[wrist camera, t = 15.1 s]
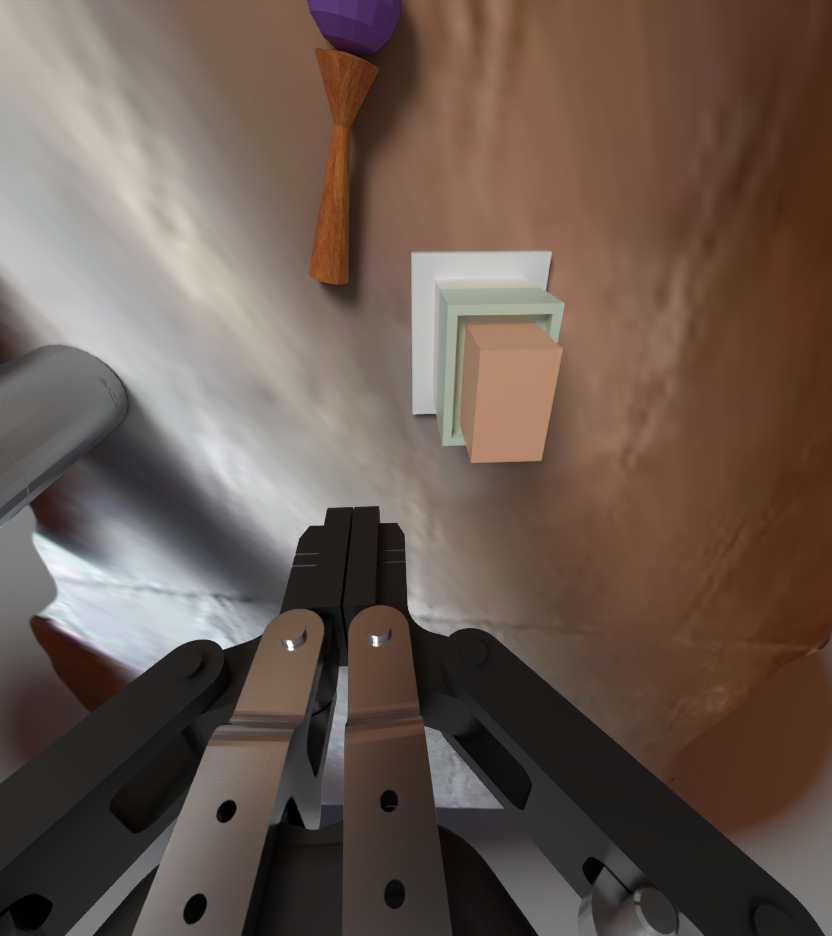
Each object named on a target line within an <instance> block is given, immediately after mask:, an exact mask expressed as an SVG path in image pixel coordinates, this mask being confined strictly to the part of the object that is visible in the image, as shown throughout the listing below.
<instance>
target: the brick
mask: <svg viewBox="0 0 832 936" xmlns="http://www.w3.org/2000/svg"><path fill="white" fill-rule="evenodd" d="M562 352H563V348H562V347H561V346H560V345H559V344H558V343H557V342H556V341H554V340H553V339H552V338H551V337H550V336H549V335H548V334H547V333H546V332H545V331H544V330H543V329H541V328H540V327H539V326H538V325H537V324H536V323H535V322H515V323H465V339H464V355H463V371H462V387H461V403H460V420H459V424H460V427H461V431H462V434H463V438H464V441H465V444H466V448H467V451H468V454H469V458H470V461H471V463H484V462H518V461H541V460H542V455H543V450H544V445H545V440H546V435H547V429H548V424H549V419H550V414H551V409H552V403H553V398H554V393H555V388H556V383H557V378H558V372H559V367H560V362H561V357H562Z"/></svg>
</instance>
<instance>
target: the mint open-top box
mask: <svg viewBox="0 0 832 936" xmlns="http://www.w3.org/2000/svg"><path fill="white" fill-rule="evenodd" d="M551 254H552V252H550V251H448V252H411V302H412V412H413V414H436V416H437V421H438V426H439V431H440V436H441V441H442V446H457V445H466V444H465V441H464V438H463V434H462V431H461V427H460V424H459V420H460V403H461V387H462V371H463V355H464V339H465V323H515V322H535V323H536V324H537V325H538V326H539V327H540V328H541V329H543V330H544V331H545V332H546V333H547V334H548V335H549V336H550V337H551V338H552V339H553V340H554V341H556V342H557V343H558V337H559V332H560V327H561V321H562V316H563V310H564V305H565V303H564V302H562V301H560V300H559V299H557V298H556V297H554V296H553V295H551V294H550V293H548V292H547V291H546V286H547V280H548V274H549V267H550V261H551Z"/></svg>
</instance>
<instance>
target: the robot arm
mask: <svg viewBox="0 0 832 936" xmlns="http://www.w3.org/2000/svg"><path fill="white" fill-rule="evenodd" d="M127 410H128V399H127V396H126V392H125V390H124V388H123V386H122V384H121V382H120V380H119V379H118V378H117V377H116V375H115V374H114V373H113V372H112V371H111V370H110V369H109V368H108V367H107V366H106V365H105V364H104V363H103V362H101V361H100V360H98V359H97V358H95V357H94V356H92V355H90V354H88V353H86V352H84V351H82V350H79V349H76V348H73V347H69V346H63V345H48V346H44V347H40V348H37V349H35V350H33V351H31V352H29V353H26V354H24V355H22V356H20V357H18V358H15V359H13V360H11V361H8V362H6V363H4V364H2V365H0V528H1V527H3V526H4V525H5V524H6V523H7V522H8V521H9V520H11V519H12V518H13V517H14V516H15V515H16V514H18V513H19V512H20V511H21V510H22V509H23V508H24V507H25V506H26V505H28V504H29V503H30V502H31V501H32V500H33V499H34V498H36V497H37V496H38V495H39V494H40V493H41V492H43V491H44V490H45V489H46V488H47V487H48V486H49V485H51V484H52V483H53V482H54V481H55V480H56V479H57V478H59V477H60V476H61V475H62V474H63V473H64V472H66V471H67V470H68V469H69V468H70V467H71V466H72V465H74V464H75V463H76V462H77V461H78V460H79V459H80V458H82V457H83V456H84V455H85V454H86V453H87V452H88V451H90V450H91V449H92V448H93V447H94V446H95V445H97V444H98V443H99V442H100V441H101V440H102V439H103V438H105V437H106V436H107V435H108V434H109V433H110V432H111V431H113V430H114V429H115V428H116V427H117V426H118V425H119V424H120V423H122V421H123V420H124V418H125V416H126V414H127ZM339 666H348V719H347V723H346V726H345V743H344V820H341V821H339V822H336V823H334V824H331V825H329V826H326V827H323V828H321V829H319V822H320V813H321V786H322V778H323V772H324V766H325V761H326V755H327V749H328V744H329V738H330V733H331V727H332V721H333V716H334V710H335V705H336V699H337V691H336V688H337V681H338V672H339ZM424 726H427V727H430V728H433V729H436V730H439V731H441V733H442V735H443V737H444V738H445V739H446V741H447V742H448V743H449V744H450V745H451V746H452V748H453V749H454V750H455V751H456V752H457V753H458V755H459V756H460V757H461V758H462V759H463V760H464V762H465V763H466V764H467V765H468V766H469V767H470V769H471V770H472V771H473V772H474V773H475V774H476V776H477V777H478V778H479V779H480V780H481V782H482V783H483V784H484V785H485V786H486V787H487V789H488V790H489V791H490V792H491V793H492V794H493V796H494V797H495V798H496V799H497V800H498V801H499V803H500V804H501V805H502V806H503V807H504V808H505V810H506V811H507V812H508V813H509V814H510V815H511V817H512V818H513V819H514V820H515V821H516V822H517V823H518V825H519V826H520V827H521V828H522V830H523V831H524V832H525V833H526V834H527V835H528V837H529V838H530V839H531V840H532V841H533V842H534V843H535V845H536V846H537V847H538V848H539V849H540V851H541V852H542V853H543V854H544V855H545V856H546V858H547V859H548V860H549V861H550V862H551V863H552V865H553V866H554V867H555V868H556V869H557V870H558V872H559V873H560V874H561V875H562V876H563V877H564V879H565V880H566V881H567V882H568V883H569V885H570V886H571V887H572V888H573V889H574V890H575V892H576V893H577V894H578V895H579V896H580V897H581V899H582V900H581V902H580V906H579V911H578V932H579V936H825V935H824V933H823V932H822V930H821V929H820V927H819V926H818V924H817V923H816V921H815V920H814V919H813V917H812V916H811V915H810V913H809V912H808V911H807V909H806V908H805V907H804V906H803V905H802V904H801V903H800V902H799V901H798V900H797V899H796V898H795V897H794V896H793V895H792V894H791V893H790V892H789V891H788V890H787V889H785V888H784V887H783V886H782V885H781V884H780V883H778V882H777V881H776V880H775V879H774V878H773V877H772V876H770V875H769V874H768V873H767V872H766V871H764V870H763V869H762V868H761V867H760V866H759V865H758V864H756V863H755V862H754V861H753V860H752V859H751V858H750V857H748V856H747V855H746V854H745V853H744V852H743V851H741V850H740V849H739V848H738V847H737V846H736V845H734V844H733V843H732V842H731V841H730V840H729V839H728V838H726V837H725V836H724V835H723V834H722V833H721V832H719V831H718V830H717V829H716V828H715V827H713V826H712V825H711V824H710V823H709V822H708V821H707V820H705V819H704V818H703V817H702V816H701V815H700V814H699V813H697V812H696V811H695V810H694V809H693V808H691V807H690V806H689V805H688V804H687V803H686V802H684V801H683V800H682V799H681V798H680V797H679V796H677V794H675V793H674V792H673V791H672V790H671V789H669V788H668V787H667V786H666V785H665V784H664V783H663V782H661V781H660V780H659V779H658V778H657V777H656V776H655V775H653V774H652V773H651V772H650V771H649V770H648V769H646V768H645V767H644V766H643V765H642V764H641V763H639V762H638V761H637V760H636V759H635V758H634V757H632V756H631V755H630V754H629V753H628V752H627V751H626V750H624V749H623V748H622V747H621V746H620V745H619V744H617V743H616V742H615V741H614V740H613V739H612V738H610V737H609V736H608V735H607V734H606V733H605V732H604V731H602V730H601V729H600V728H599V727H598V726H597V725H595V724H594V723H593V722H592V721H591V720H590V719H588V718H587V717H586V716H585V715H584V714H583V713H582V712H580V711H579V710H578V709H577V708H576V707H575V706H573V705H572V704H571V703H570V702H569V701H568V700H566V699H565V698H564V697H563V696H562V695H561V694H559V693H558V692H557V691H556V690H555V689H554V688H553V687H551V686H550V685H549V684H548V683H547V682H546V681H544V680H543V679H542V678H541V677H540V676H539V675H537V674H536V673H535V672H534V671H533V670H532V669H531V668H529V667H528V666H527V665H526V664H525V663H524V662H522V661H521V660H520V659H519V658H518V657H517V656H515V655H514V654H513V653H512V652H511V651H510V650H509V649H507V648H506V647H505V646H504V645H503V644H502V643H500V642H499V641H498V640H497V639H496V638H495V637H493V636H492V635H491V634H489V633H487V632H485V631H483V630H480V629H475V628H466V629H461V630H458V631H456V632H454V633H453V634H451V635H450V636H449V637H447V636H443V635H440V634H436V633H432V632H429V631H427V630H425V629H423V628H422V627H420V626H419V625H418V624H417V623H416V622H415V621H414V620H413V619H412V617H411V615H410V614H409V610H408V605H407V582H406V559H405V536H404V533H403V532H402V530H401V529H400V527H399V525H398V524H397V523H380V511H379V506H368V507H354V509H353V507H342V508H328V509H327V513H326V518H325V523H324V526H309V528H308V529H307V530H306V531H305V532H304V534H303V535H302V536H301V537H300V538H299V542H298V546H297V550H296V556H295V557H294V561H293V568H292V569H291V573H290V577H289V581H288V584H287V588H286V592H285V596H284V600H283V604H282V608H281V611H280V614H279V616H277V617H276V618H274V619H273V620H272V621H271V622H270V623H269V624H268V626H267V627H266V629H265V631H264V633H263V634H262V635H260V636H259V637H257V638H255V639H253V640H251V641H248V642H245V643H242V644H239V645H236V646H233V647H230V648H227V649H224V650H222V648H221V647H220V646H219V644H217V643H216V642H214V641H211V640H194V641H191V642H188V643H185V644H183V645H181V646H179V647H177V648H176V649H174V650H173V651H171V652H170V653H169V654H167V655H166V656H165V657H164V658H162V659H161V660H160V661H158V662H157V663H156V664H155V665H153V666H152V667H151V668H149V669H148V670H147V671H145V672H144V673H143V674H142V675H140V676H139V677H138V678H136V679H135V680H134V681H133V682H131V683H130V684H129V685H127V686H126V687H125V688H123V689H122V690H121V691H120V692H118V693H117V694H116V695H114V696H113V697H112V698H110V699H109V700H108V701H107V702H105V703H104V704H103V705H101V706H100V707H99V708H98V709H96V710H95V711H94V712H92V713H91V714H90V715H89V716H87V717H86V718H85V719H83V720H82V721H81V722H79V723H78V724H77V725H76V726H74V727H73V728H72V729H70V730H69V731H68V732H66V733H65V734H64V735H63V736H61V737H60V738H59V739H58V740H56V741H55V742H54V743H52V744H51V745H50V746H48V747H47V748H46V749H44V750H43V751H42V752H41V753H40V754H38V755H37V756H35V757H34V758H33V759H31V760H30V761H29V762H28V763H26V764H25V765H24V766H22V767H21V768H20V769H19V770H17V771H16V772H15V773H13V774H12V775H11V776H9V777H8V778H7V779H6V780H4V781H3V782H2V783H1V784H0V936H65V935H66V934H67V933H68V931H69V930H70V929H71V928H72V927H73V926H74V925H75V924H76V923H77V922H78V921H79V920H80V919H81V918H82V917H83V915H84V914H85V913H86V912H87V911H88V910H89V909H90V908H91V907H92V906H93V905H94V904H95V903H96V902H97V901H98V900H99V899H100V898H101V897H102V896H103V895H104V893H105V892H106V891H107V890H108V889H109V888H110V887H111V886H112V885H113V884H114V883H115V882H116V881H117V880H118V879H119V877H121V875H122V874H123V873H124V872H125V871H126V870H127V869H128V868H129V867H130V866H131V865H132V864H133V863H134V862H135V861H136V860H137V859H138V857H139V856H140V855H141V854H142V853H143V852H144V851H145V850H146V849H147V848H148V847H149V846H150V845H151V844H152V843H153V842H154V841H155V840H156V838H157V837H158V836H159V835H160V834H161V833H162V832H163V831H164V830H165V829H166V828H167V827H168V826H169V825H170V824H171V823H172V821H173V820H174V819H175V818H176V817H177V816H178V815H179V814H180V815H179V818H178V820H177V823H176V825H175V828H174V830H173V833H172V835H171V838H170V840H169V843H168V846H167V848H166V851H165V853H164V855H163V858H162V861H161V863H160V864H159V865H158V866H156V867H155V868H154V869H153V870H152V871H151V872H150V873H149V874H148V875H147V876H146V877H145V878H144V879H142V880H141V882H139V884H138V885H137V886H136V887H135V888H134V889H133V890H132V891H131V892H130V893H129V894H128V896H127V897H126V898H125V899H124V900H123V901H122V903H121V904H120V905H119V906H118V907H117V908H116V909H115V911H114V912H113V913H112V914H111V915H110V916H109V917H108V919H107V920H106V921H105V922H104V923H103V925H102V926H101V927H100V928H99V929H98V930H97V931H96V933H95V934H94V935H93V936H538V934H537V933H536V931H535V930H534V929H533V927H532V926H531V924H530V923H529V922H528V920H527V919H526V917H525V916H524V915H523V914H522V912H521V910H520V909H519V908H518V906H517V905H516V903H515V902H514V900H513V899H512V898H511V896H510V895H509V894H508V892H507V891H506V889H505V888H504V886H503V885H502V884H501V882H500V881H499V879H498V878H497V877H496V875H495V874H494V872H493V871H492V869H491V868H490V867H489V865H488V864H487V863H486V862H485V860H484V859H483V858H482V857H481V855H480V854H479V853H478V852H477V851H476V850H475V849H474V848H473V847H472V846H471V845H470V844H469V843H468V842H466V841H465V840H464V839H463V838H462V837H460V836H459V835H457V834H456V833H454V832H453V831H451V830H450V829H448V828H446V827H444V826H441V825H439V824H437V818H436V810H435V803H434V795H433V788H432V780H431V773H430V766H429V758H428V751H427V744H426V736H425V729H424Z"/></svg>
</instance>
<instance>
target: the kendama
mask: <svg viewBox="0 0 832 936" xmlns="http://www.w3.org/2000/svg"><path fill="white" fill-rule="evenodd" d="M307 1H308V5H309V10H310V13H311V15H312V16H313V18H314V20H315V22H316V24H317V26H318V28H319V29H320V31H321V33H322V35H323V37H324V38H325V39H326V40H328V41H329V42H330V43H331V44H332V45H333V46H334V47H335V48H336V49H338V50H330V49H321V48H317V49H315V51H316V55H317V59H318V63H319V66H320V70H321V74H322V78H323V82H324V86H325V90H326V94H327V98H328V101H329V105H330V109H331V113H332V117H333V121H334V129H333V135H332V141H331V147H330V152H329V158H328V164H327V170H326V176H325V182H324V188H323V194H322V199H321V205H320V211H319V217H318V223H317V229H316V235H315V241H314V246H313V252H312V258H311V264H310V270H309V275H310V277H312V278H314V279H315V280H318V281H321V282H325V283H330V284H346V283H348V279H349V163H350V127H351V125H352V123H353V121H354V119H355V117H356V115H357V113H358V111H359V109H360V107H361V105H362V103H363V101H364V99H365V97H366V95H367V93H368V91H369V89H370V87H371V85H372V83H373V81H374V79H375V77H376V75H377V73H378V72H379V68H378V67H376V66H375V65H373V64H371V63H369V62H367V61H365V60H363V59H362V58H360V57H359V56H363V55H368V54H372V53H375V52H376V51H377V50H379V49H380V48H381V47H382V46H383V45H384V44H385V43H386V42H387V41H388V40H389V39H390V37H391V35H392V33H393V31H394V29H395V27H396V24H397V22H398V20H399V16H400V9H401V2H402V0H307Z"/></svg>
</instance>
